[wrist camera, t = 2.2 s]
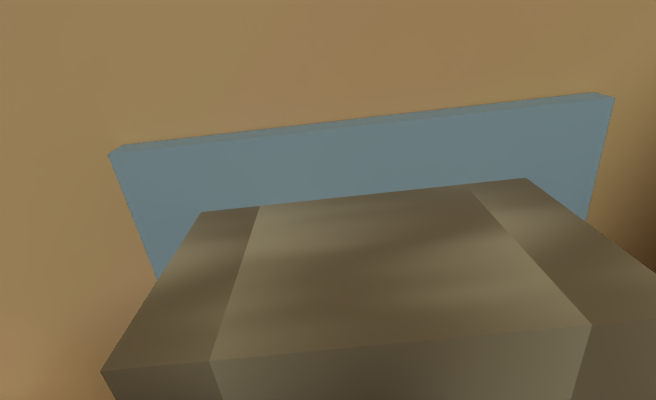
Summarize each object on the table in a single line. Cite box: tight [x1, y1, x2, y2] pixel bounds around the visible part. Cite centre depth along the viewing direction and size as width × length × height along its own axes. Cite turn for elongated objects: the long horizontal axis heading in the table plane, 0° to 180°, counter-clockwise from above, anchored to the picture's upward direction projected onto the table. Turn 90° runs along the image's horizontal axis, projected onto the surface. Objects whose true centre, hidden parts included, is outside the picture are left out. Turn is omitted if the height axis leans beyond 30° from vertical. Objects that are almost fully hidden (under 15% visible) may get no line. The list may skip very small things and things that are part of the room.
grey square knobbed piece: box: [108, 92, 615, 280], centre depth 7 cm, size 10×10×6 cm
